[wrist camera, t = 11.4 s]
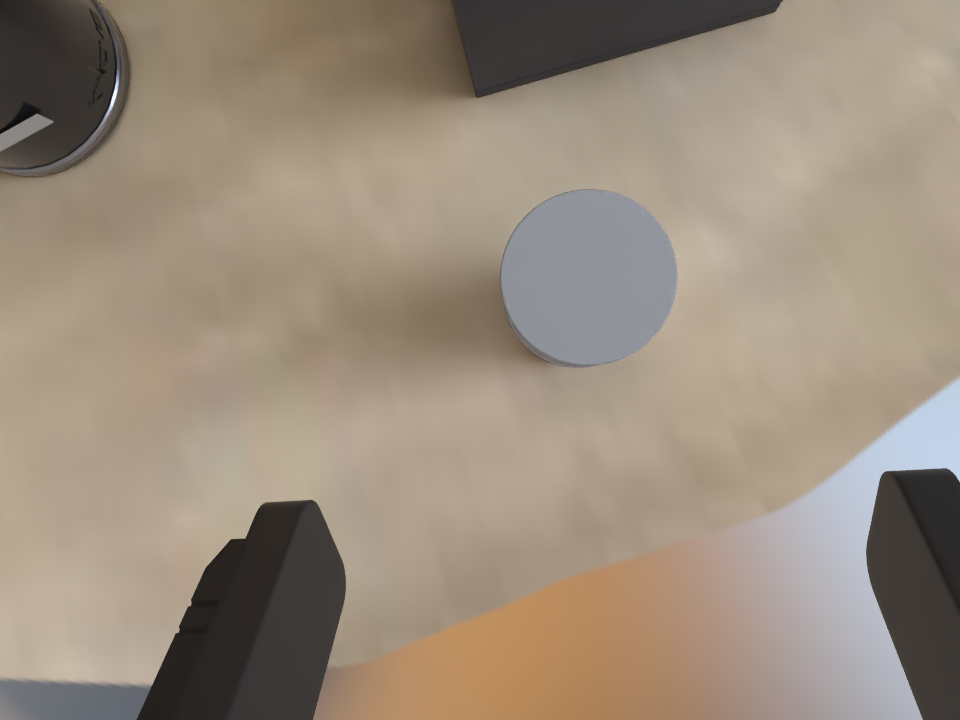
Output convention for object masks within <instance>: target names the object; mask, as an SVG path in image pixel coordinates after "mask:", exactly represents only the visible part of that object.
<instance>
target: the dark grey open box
mask: <svg viewBox="0 0 960 720" xmlns="http://www.w3.org/2000/svg"><path fill="white" fill-rule="evenodd" d="M782 1H783V0H451V2H452V6H453V10H454V14H455V17H456V21H457V25H458V29H459V33H460V37H461V40H462V44H463V48H464V52H465V56H466V60H467V63H468V67H469V71H470V75H471V79H472V82H473V86H474V90H475V94H476V97H481V96H485V95H488V94H492V93H495V92H499V91H502V90H506V89H509V88H513V87H516V86H519V85H523V84H526V83H530V82H533V81H537V80H540V79H544V78H547V77H551V76H554V75H558V74H561V73H565V72H568V71H571V70H575V69H578V68H582V67H585V66H589V65H592V64H596V63H599V62H603V61H606V60H610V59H613V58H617V57H620V56H624V55H627V54H630V53H634V52H637V51H641V50H644V49H648V48H651V47H655V46H658V45H662V44H665V43H669V42H672V41H676V40H679V39H682V38H686V37H689V36H693V35H696V34H700V33H703V32H707V31H710V30H714V29H717V28H721V27H724V26H728V25H731V24H734V23H738V22H741V21H745V20H748V19H752V18H755V17H759V16H762V15H766V14H769V13H773V12H775V11H776V10H777V8H778V7H779V5H780V3H781V2H782Z"/></svg>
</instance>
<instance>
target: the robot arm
mask: <svg viewBox="0 0 960 720" xmlns="http://www.w3.org/2000/svg"><path fill="white" fill-rule="evenodd" d="M128 76H129V72H128V59H127V53H126V49H125V45H124V42H123V39H122V36H121V34H120V31H119V29H118V27H117V25H116V24H115V22H114V20H113V18H112V17H111V16H110V14H109V13H108V11H107V10H106V9H105V8H104V7H103V6H102V4H101V3H100V2H98V1H97V0H0V171H2V172H5V173H9V174H13V175H19V176H43V175H49V174H53V173H57V172H60V171H63V170H66V169H68V168H70V167H72V166H74V165H76V164H78V163H79V162H81V161H83V160H84V159H86V158H87V157H88V156H89V155H91V154H92V153H93V152H94V151H95V150H96V149H97V148H98V147H99V146H100V145H101V144H102V143H103V142H104V141H105V140H106V138H107V137H108V136H109V134H110V133H111V131H112V130H113V128H114V126H115V124H116V123H117V121H118V119H119V116H120V114H121V112H122V109H123V106H124V103H125V99H126V94H127V88H128ZM866 557H867V567H868V573H869V578H870V582H871V585H872V589H873V591H874V594H875V597H876V599H877V602H878V604H879V607H880V610H881V612H882V615H883V618H884V620H885V623H886V625H887V628H888V630H889V633H890V635H891V638H892V641H893V643H894V646H895V649H896V651H897V654H898V656H899V659H900V662H901V664H902V667H903V669H904V672H905V674H906V677H907V680H908V682H909V685H910V687H911V690H912V692H913V695H914V698H915V700H916V703H917V706H918V708H919V711H920V713H921V716H922V718H923V720H960V482H959V480H958V479H957V477H956V476H955V475H954V474H953V472H951V471H950V470H949V469H946V468H945V469H944V468H943V469H925V470H906V471H887V472H884V473H883V474H882V476H881V478H880V482H879V487H878V491H877V496H876V501H875V507H874V512H873V516H872V521H871V526H870V531H869V535H868V541H867V549H866ZM345 590H346V578H345V570H344V565H343V562H342V559H341V557H340V554H339V552H338V550H337V547H336V545H335V543H334V540H333V538H332V536H331V533H330V531H329V529H328V526H327V524H326V522H325V519H324V517H323V515H322V513H321V510H320V508H319V506H318V505H317V503H316V502H315V501H313V500H304V501H285V502H267V503H264V504H262V505H261V506H260V508H259V509H258V511H257V513H256V515H255V517H254V520H253V522H252V524H251V527H250V529H249V532H248V534H247V536H246V539H231V540H230V541H229V542H228V543H227V545H226V546H225V547H224V548H223V549H222V550H221V551H220V552H219V554H218V555H217V556H216V557H215V558H214V559H213V560H212V561H211V563H210V564H209V565H208V566H207V567H206V568H205V571H204V573H203V575H202V577H201V579H200V582H199V584H198V586H197V588H196V590H195V593H194V595H193V597H192V599H191V601H192V604H191V606H189V607H188V608H187V610H186V612H185V615H184V617H183V619H182V621H181V623H180V626H179V628H180V631H179V633H176V634H175V637H174V639H173V641H172V643H171V645H170V648H169V650H168V652H167V654H166V656H165V659H164V661H163V663H162V665H161V667H160V670H159V672H158V674H157V676H156V678H155V680H154V683H153V685H152V687H151V689H150V691H149V694H148V696H147V698H146V701H145V703H144V705H143V707H142V709H141V712H140V714H139V716H138V718H137V720H313V716H314V713H315V709H316V705H317V701H318V698H319V694H320V690H321V687H322V682H323V679H324V675H325V672H326V668H327V664H328V660H329V657H330V653H331V649H332V645H333V642H334V638H335V634H336V630H337V627H338V623H339V619H340V615H341V612H342V608H343V604H344V599H345Z"/></svg>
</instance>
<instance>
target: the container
mask: <svg viewBox="0 0 960 720" xmlns="http://www.w3.org/2000/svg"><path fill="white" fill-rule="evenodd" d="M500 286H501V293H502V298H503V302H504V306H505V311H506V315H507V318H508V321H509V323H510V325H511V327H512V329H513V331H514V332H515V334H516V335H517V337H518V338H519V340H520V341H521V342H522V343H523V344H524V345H525V346H526V347H527V348H528V349H529V350H530V351H532V352H533V353H534V354H536V355H537V356H539V357H540V358H542V359H544V360H546V361H548V362H551V363H554V364H557V365H560V366H566V367H575V368H577V367H590V366H595V365H600V364H606V363H610V362H614V361H617V360H620V359H622V358H625V357H627V356H629V355H631V354H632V353H634V352H636V351H637V350H639V349H640V348H642V347H643V346H644V345H645V344H647V343H648V342H649V341H650V340H651V339H652V338H653V337H654V336H655V335H656V333H657V332H658V331H659V330H660V328H661V327H662V325H663V324H664V322H665V321H666V319H667V317H668V315H669V313H670V310H671V308H672V305H673V302H674V299H675V294H676V288H677V265H676V259H675V254H674V251H673V248H672V245H671V243H670V241H669V238H668V236H667V235H666V233H665V231H664V229H663V228H662V227H661V225H660V224H659V223H658V221H657V220H656V219H655V218H654V217H653V216H652V215H651V214H650V213H649V212H648V211H647V210H646V209H645V208H643V207H642V206H641V205H639V204H637V203H636V202H634V201H633V200H631V199H629V198H627V197H624V196H622V195H619V194H616V193H613V192H609V191H603V190H594V189H585V190H575V191H570V192H566V193H563V194H560V195H557V196H555V197H552V198H550V199H548V200H546V201H544V202H543V203H541V204H540V205H538V206H537V207H536V208H534V209H533V210H532V211H531V212H529V213H528V214H527V215H526V216H525V217H524V218H523V220H522V221H521V222H520V223H519V224H518V226H517V227H516V228H515V230H514V232H513V233H512V235H511V237H510V239H509V241H508V243H507V245H506V248H505V251H504V254H503V258H502V263H501V271H500Z"/></svg>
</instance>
